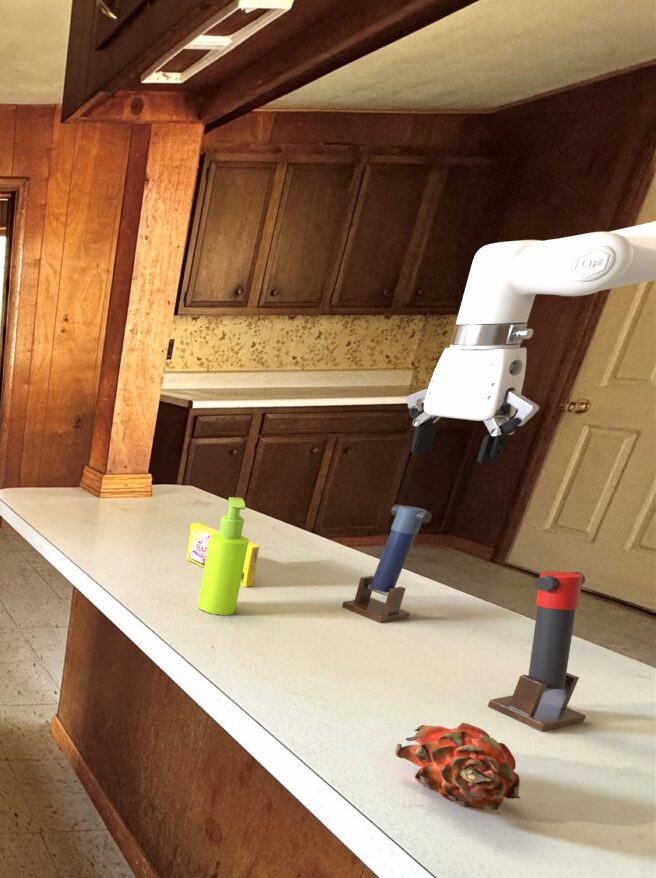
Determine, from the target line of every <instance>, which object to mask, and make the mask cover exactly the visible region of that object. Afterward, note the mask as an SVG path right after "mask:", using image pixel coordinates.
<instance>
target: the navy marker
mask: <svg viewBox="0 0 656 878" xmlns="http://www.w3.org/2000/svg"><path fill="white" fill-rule="evenodd" d="M390 513H391V515H392V516H394V520H393V522H392V525H391V527H390V530H391V531H390V534H389V535H388V538H387V541H386V543H385V546H384V548H383V551H382V554H381V555H380V558H379V562H378V564H377V567H376V569H375V572H374V574H373V579H372V582H371V584H369V585H368V587H367V589H368V590H371V591H372V592H374V593H376V594H379V595H381V596H384V597H386V598H387V597H388V594H389V590H390V588H396V585H397V583H398V580H399V578H400V575H401V573H402V570H403V567H404V566H405V563H406V561H407V558H408V555H409V553H410V550H411V548H412V545H413V543H414V540H415V539H416V536H417V535H418V534H419V531H420V529H421V526H422V523H423V524H426V523H427V524H428V523H429V522H430V521H431V519H432V516H433V514H432V513H431V512H430V511H427V510H426V509H424V508H420V507H417V506H410V505H402V504H400V503H399V504H394V505H393V506H392V507H391V511H390Z"/></svg>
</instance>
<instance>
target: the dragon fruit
mask: <svg viewBox="0 0 656 878" xmlns="http://www.w3.org/2000/svg"><path fill="white" fill-rule="evenodd" d="M410 729H411V728H410ZM410 729H408V731H410ZM413 731H414V732H416V733H415V735H414V736H411V737H406V738H405V741H407V742H413V741H414V742H416V743H418V744H408V745H404V746H402V744H401V743H397V744H396V746H395V749H394V754H395V756H396V757H397V758H399V759H405V760H407V761H409V763H412V764H414V765H416V766H417V767H420V768H419V770H418V771H417V773H415V775H414V779H415V780H416V781H417V782H418V783H419V784H420V785H421V786H422V787H424V788H428V789H430V790H431V789H435V790H438V792H439V794H440V796H441V797H443V798H444V799H446V800H449V802H451V803H454V804H457V805H460V806H462V807H468V806H471V805H473V806H474V807H476V808H477V809H479V810H481V811H498V810H499V808H500V806H501V805H502V803H503V802H504V798H506V800H512V799H517V800H518V799H521V796H520V792H519V791H520V781H521V780H520V775H519V774H518V773H517V772H515V769H516V763H517V762H516V759H515V757H514V755H513V753H512V751H511V750H510V748H508V747H507V745H506V744H505V743H503V742H498V741H497V740H496V739H495V738H493V737H491V735H489V734H488V733H487V731H486V730H484V729H482V728H480V727H477V726H475V725H472V724H470V723H466V722H461V723H460V724H459V725H458V726H457V727H455V728H448V727H445V726H442V725H441V726H440V725H439V726H438V725H437V726H436V725H426V724H421V725H419V726H418V727H417V728H415V729H413Z"/></svg>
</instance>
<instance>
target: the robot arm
mask: <svg viewBox="0 0 656 878" xmlns="http://www.w3.org/2000/svg"><path fill="white" fill-rule="evenodd" d="M654 281H656V220H654V221H651V222H646V223H643V224H638V225H634V226H629V227H625V228H620V229H615V230H610V231H594V232H588V233H582V234H577V235H572V236H566V237H561V238H554V239H547V240H540V239H523V240H522V239H521V240H511V241H501V242H495V243H494V242H493V243H489V244H486V245H484V246H482V247H481V248H479V250H477V252H476V253H475V255H474V258H473V260H472V264H471V267H470V271H469V274H468V278H467V282H466V286H465V289H464V293H463V296H462V301H461V303H460V304H461V305H460V308H459V311H458V315H457V318H456V323H455V326H454V329H453V333H452V336H451V341H450V345H449V347H445V349H444V350H443V352H442V354H441V356H440V358H439V360H438V362H437V365H436V367H435V369H434V371H433V374H432V377H431V379H430V381H429V384H428V387H426V388H424V389H422V390H419V391H416V392H414V393H411V394H409V395H407V396H406V403H407V408H408V415H409V416H410V418H411V420H412V425H413V426H414V427H415V430H414V434H413V436H412V437H413V438H412V441H411V447H410V453H425V452H426V453H427V452H430V451H431V449H432V445H433V442H434V439H435V435H436V431H437V425H435V423H436V422H437V421H438V420H440V419H441V418H447V419H448V418H450V419H456V420H457V419H459V420H468V421H476V422H477V421H478V422H480V421H482V422H483V423H484V426H485V427H486V428H487V429H486V430H487V431H488V433H489V434H488V435H487V434H486V435H485V436H484V437H483V439H482V443H481V445H480V449H479V453H478V456H477V459H476V462H477V463H478V464H483V465H484V464H491V463H493V464H494V463H498V461H499V459H500V458H501V456H502V455H503V451H504V449H505V445H506V442H507V439H508V436H510V435H513V434H514V433H515V431H518V430H519V429H520V428H522V427H524V426H525V425H527V423H528V421H529V420H530V419H531V418H533V416H534V415H536V413H538V411H539V410H540V405H538V404H537V403H535V402H534V401H532V400H530V399H529V398H527V397H526V396H524V395H522V390H523V387H524V381H525V375H526V369H527V347H521V344H522V343H523V340H529V339H531V338H532V337H533V335H534V329H533V328H527V327H528V320H529V317H530V315H531V314H530V313H531V311H532V307H533V305H534V301H535V298H536V295H553V296H561V297H581V296H582V297H583V296H588V295H591V294H594V293H597V292H598V293H599V292H600V291H601V292H602V291H605V290H610V289H616V288H621V287H626V286H632V285H638V284H642V283H649V282H654ZM423 401H424V403H423ZM516 412H517V413H516ZM513 416H514V417H513Z"/></svg>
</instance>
